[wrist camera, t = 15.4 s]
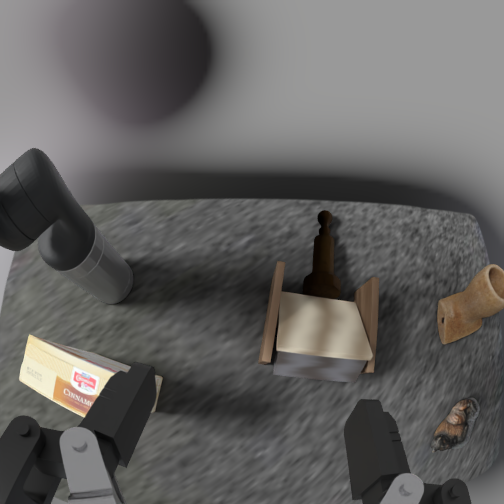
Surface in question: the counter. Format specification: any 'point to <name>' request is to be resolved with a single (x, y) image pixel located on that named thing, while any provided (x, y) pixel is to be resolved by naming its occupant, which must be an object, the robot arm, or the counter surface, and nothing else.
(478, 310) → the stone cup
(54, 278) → the counter surface
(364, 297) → the brown upright panels
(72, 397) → the coffeecake box
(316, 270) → the brown wooden pepper mill
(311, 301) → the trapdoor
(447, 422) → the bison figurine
